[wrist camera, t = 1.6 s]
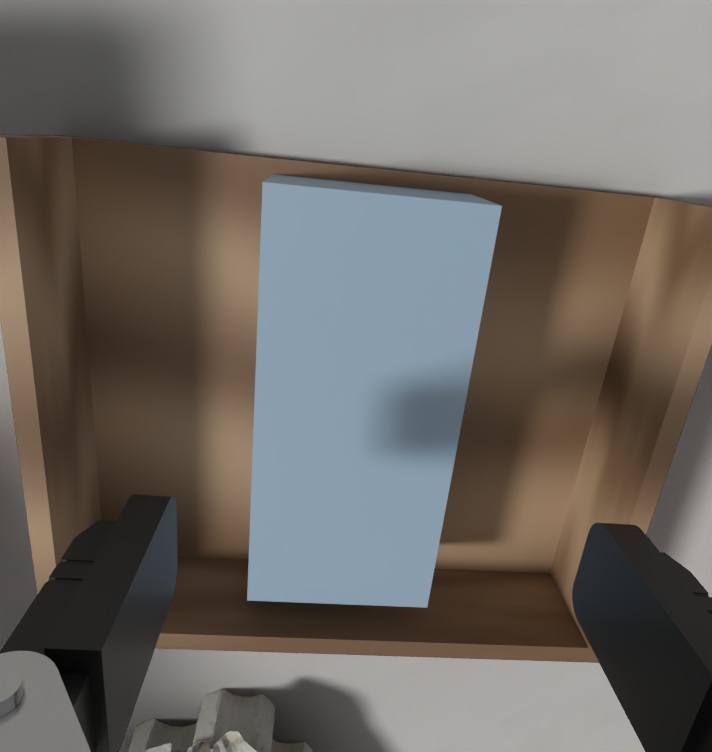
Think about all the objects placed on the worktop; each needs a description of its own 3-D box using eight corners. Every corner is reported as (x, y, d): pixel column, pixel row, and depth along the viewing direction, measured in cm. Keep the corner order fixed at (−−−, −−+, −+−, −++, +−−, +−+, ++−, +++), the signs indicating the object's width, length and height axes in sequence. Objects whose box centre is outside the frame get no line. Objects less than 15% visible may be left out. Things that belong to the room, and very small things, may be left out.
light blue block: (273, 174, 16) (262, 182, 13) (471, 194, 16) (502, 206, 13) (257, 537, 20) (247, 600, 17) (413, 544, 21) (427, 607, 18)
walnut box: (57, 135, 16) (-26, 134, 12) (663, 198, 17) (757, 214, 13) (93, 554, 21) (44, 644, 17) (555, 575, 22) (601, 662, 19)
